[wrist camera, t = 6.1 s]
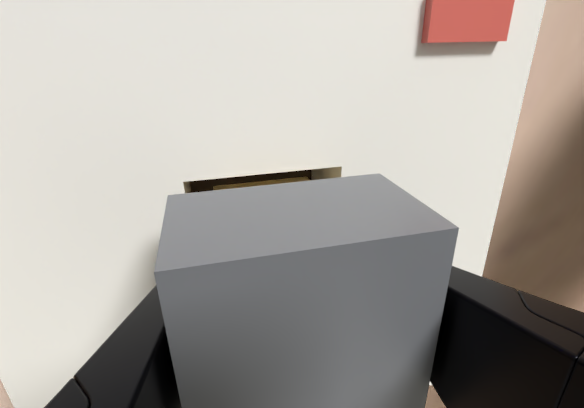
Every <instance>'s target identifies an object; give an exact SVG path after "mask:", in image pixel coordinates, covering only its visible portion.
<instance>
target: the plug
mask: <svg viewBox="0 0 584 408" xmlns="http://www.w3.org/2000/svg"><path fill="white" fill-rule="evenodd" d="M213 188H214V190H213V191H203V192H193V193H184V194H174V195H168V197H167V202H166V208H165V213H164V219H163V224H162V230H161V235H160V241H159V246H158V252H157V257H156V263H155V268H154V276H155V281H156V285H157V290H158V295H159V300H160V305H161V310H162V315H163V319H164V324H165V329H166V334H167V339H168V344H169V348H170V353H171V358H172V363H173V368H174V373H175V378H176V382H177V387H178V392H179V397H180V402H181V407H182V408H425V404H426V398H427V393H428V388H429V383H430V377H431V372H432V367H433V362H434V356H435V351H436V346H437V341H438V336H439V330H440V325H441V320H442V315H443V309H444V304H445V299H446V294H447V288H448V283H449V278H450V273H451V268H452V262H453V257H454V252H455V247H456V241H457V236H458V231H459V227H457V226H456V225H454V224H453V223H451V222H450V221H449V220H447V219H446V218H444V217H443V216H441V215H440V214H438V213H437V212H435V211H434V210H432V209H431V208H430V207H428V206H427V205H425V204H424V203H422V202H421V201H419V200H418V199H416V198H415V197H413V196H412V195H411V194H409V193H408V192H406V191H405V190H403V189H402V188H400V187H399V186H397V185H396V184H394V183H393V182H392V181H390V180H389V179H387V178H386V177H384V176H383V175H381V174H380V173H378V174H368V175H358V176H349V177H339V178H329V179H320V180H309V178H308V177H298V178H288V179H278V180H268V181H258V182H248V183H238V184H228V185H218V186H213Z"/></svg>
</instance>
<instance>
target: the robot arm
mask: <svg viewBox="0 0 584 408" xmlns="http://www.w3.org/2000/svg"><path fill="white" fill-rule="evenodd" d="M430 382H431V383H432V385H433V387H434V388H435V390H436V392H437V393H438V395H439V396H440V398H441V400H442V401H443V403H444V404H445V406H446V408H584V313H583V312H580V311H577V310H574V309H571V308H568V307H565V306H562V305H559V304H556V303H553V302H550V301H548V300H545V299H542V298H539V297H536V296H533V295H531V294H528V293H525V292H523V291H517V290H516V289H514V288H511V287H509V286H506V285H503V284H501V283H498V282H495V281H492V280H490V279H487V278H484V277H481V276H479V275H476V274H473V273H471V272H468V271H465V270H462V269H460V268H457V267H454V266H452V268H451V273H450V278H449V283H448V288H447V294H446V299H445V304H444V309H443V315H442V320H441V325H440V330H439V336H438V341H437V346H436V351H435V356H434V362H433V367H432V372H431V377H430ZM44 408H182V407H181V402H180V397H179V392H178V387H177V382H176V378H175V373H174V368H173V363H172V358H171V353H170V348H169V344H168V339H167V334H166V329H165V324H164V319H163V315H162V310H161V305H160V300H159V295H158V290H157V285H156V286H155V287H154V288H153V289H152V290H151V291H150V292H149V293H148V294H147V295H146V297H145V298H144V299H143V300H142V301H141V302H140V303H139V304H138V305H137V306H136V308H135V309H134V310H133V311H132V312H131V313H130V314H129V315H128V316H127V317H126V319H125V320H124V321H123V322H122V323H121V324H120V325H119V326H118V327H117V328H116V330H115V331H114V332H113V333H112V334H111V335H110V336H109V337H108V338H107V339H106V341H105V342H104V343H103V344H102V345H101V346H100V347H99V348H98V349H97V350H96V352H95V353H94V354H93V355H92V356H91V357H90V358H89V359H88V360H87V361H86V363H85V364H84V365H83V366H82V367H81V368H80V369H79V370H78V371H77V372H76V374H75V375H74V376H73V378H71V379H70V380H69V381H68V382H67V383H66V384H65V385H64V386H63V388H62V389H61V390H60V391H59V392H58V393H57V394H56V395H55V396H54V397H53V398H52V399H51V400H50V402H49V403H48V404H47V405H46V406H45V407H44Z"/></svg>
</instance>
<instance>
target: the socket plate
mask: <svg viewBox="0 0 584 408" xmlns="http://www.w3.org/2000/svg"><path fill="white" fill-rule="evenodd" d="M545 3H546V0H0V379H1V382H2V384H3V386H4V388H5V390H6V392H7V394H8V396H9V398H10V400H11V402H12V404H13V407H14V408H44V407H45V406H46V405H47V404H48V403H49V402H50V400H51V399H52V398H53V397H54V396H55V395H56V394H57V393H58V392H59V391H60V390H61V389H62V388H63V386H64V385H65V384H66V383H67V382H68V381H69V380H70V379H71V378H73V376H74V375H75V374H76V372H77V371H78V370H79V369H80V368H81V367H82V366H83V365H84V364H85V363H86V361H87V360H88V359H89V358H90V357H91V356H92V355H93V354H94V353H95V352H96V350H97V349H98V348H99V347H100V346H101V345H102V344H103V343H104V342H105V341H106V339H107V338H108V337H109V336H110V335H111V334H112V333H113V332H114V331H115V330H116V328H117V327H118V326H119V325H120V324H121V323H122V322H123V321H124V320H125V319H126V317H127V316H128V315H129V314H130V313H131V312H132V311H133V310H134V309H135V308H136V306H137V305H138V304H139V303H140V302H141V301H142V300H143V299H144V298H145V297H146V295H147V294H148V293H149V292H150V291H151V290H152V289H153V288H154V287H155V286H156V281H155V276H154V268H155V263H156V257H157V252H158V246H159V241H160V235H161V230H162V224H163V219H164V213H165V208H166V202H167V197H168V195H174V194H184V193H191V187H190V181H198V180H208V179H218V178H229V177H239V176H249V175H259V174H269V173H280V172H290V171H300V170H310V169H311V180H320V179H329V178H339V177H349V176H358V175H368V174H378V173H380V174H381V175H383V176H384V177H386V178H387V179H389V180H390V181H392V182H393V183H394V184H396V185H397V186H399V187H400V188H402V189H403V190H405V191H406V192H408V193H409V194H411V195H412V196H413V197H415V198H416V199H418V200H419V201H421V202H422V203H424V204H425V205H427V206H428V207H430V208H431V209H432V210H434V211H435V212H437V213H438V214H440V215H441V216H443V217H444V218H446V219H447V220H449V221H450V222H451V223H453V224H454V225H456V226H457V227H459V231H458V236H457V241H456V247H455V252H454V257H453V262H452V266H454V267H457V268H460V269H462V270H465V271H468V272H471V273H473V274H476V275H479V276H481V277H482V274H483V270H484V266H485V261H486V257H487V253H488V249H489V244H490V240H491V236H492V231H493V227H494V223H495V218H496V214H497V210H498V205H499V201H500V197H501V193H502V188H503V184H504V180H505V175H506V171H507V167H508V162H509V158H510V154H511V149H512V145H513V141H514V137H515V132H516V128H517V124H518V119H519V115H520V111H521V106H522V102H523V98H524V93H525V89H526V85H527V81H528V76H529V72H530V68H531V63H532V59H533V55H534V50H535V46H536V42H537V37H538V33H539V29H540V24H541V20H542V16H543V12H544V7H545ZM429 385H432V383H431V382H430V383H429Z"/></svg>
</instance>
